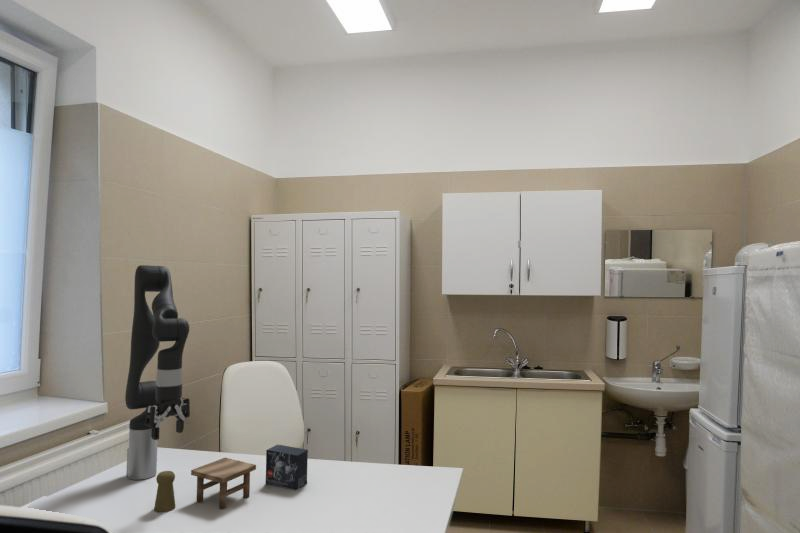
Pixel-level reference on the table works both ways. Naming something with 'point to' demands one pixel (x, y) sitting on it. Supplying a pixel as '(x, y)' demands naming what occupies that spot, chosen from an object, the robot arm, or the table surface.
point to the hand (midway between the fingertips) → (167, 435)
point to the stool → (223, 478)
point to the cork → (165, 492)
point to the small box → (286, 467)
